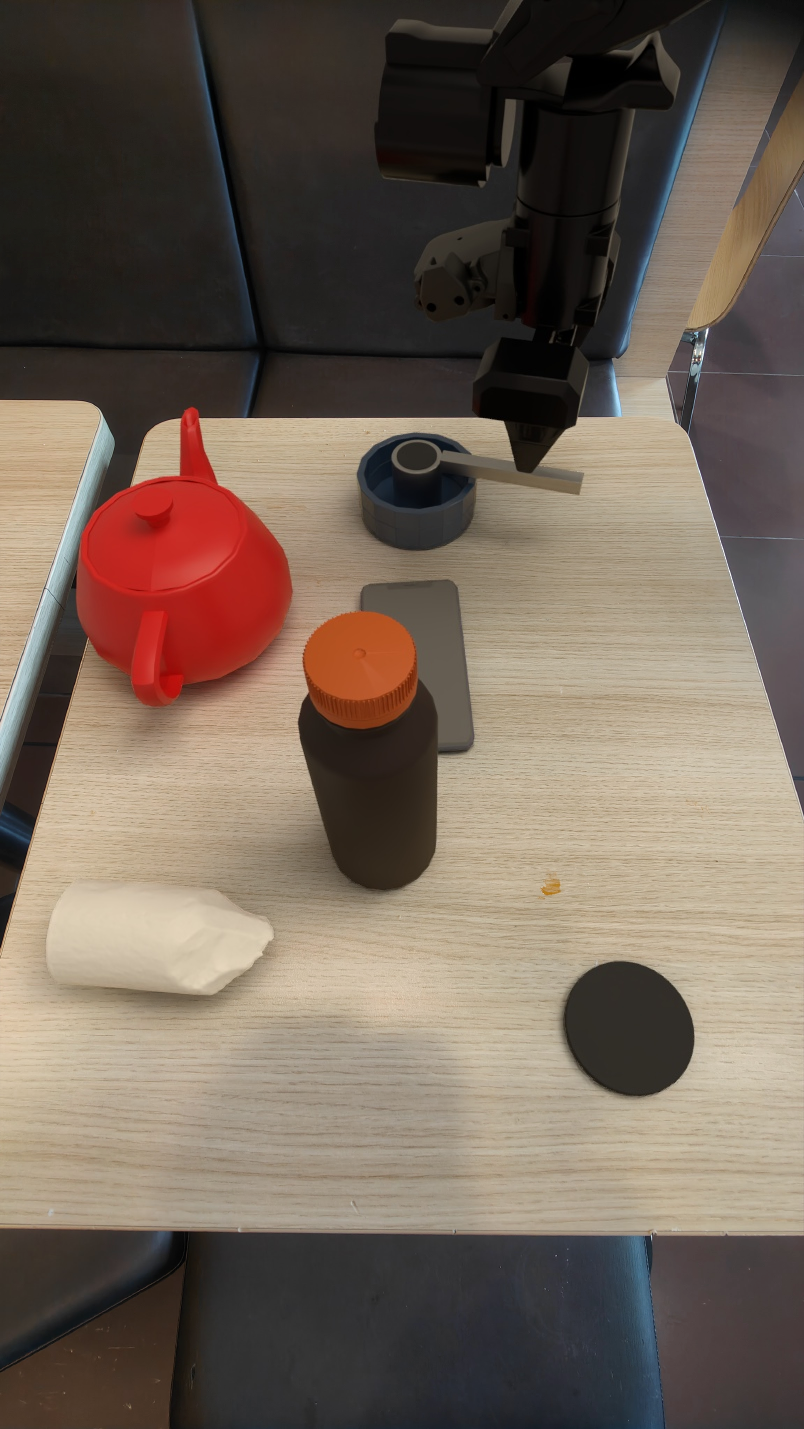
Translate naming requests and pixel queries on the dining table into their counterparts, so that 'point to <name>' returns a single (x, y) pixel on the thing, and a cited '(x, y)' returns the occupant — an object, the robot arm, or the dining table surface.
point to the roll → (151, 937)
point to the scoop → (463, 474)
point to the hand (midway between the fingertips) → (536, 429)
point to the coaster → (629, 1028)
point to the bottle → (371, 748)
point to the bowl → (408, 523)
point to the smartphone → (432, 648)
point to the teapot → (180, 578)
